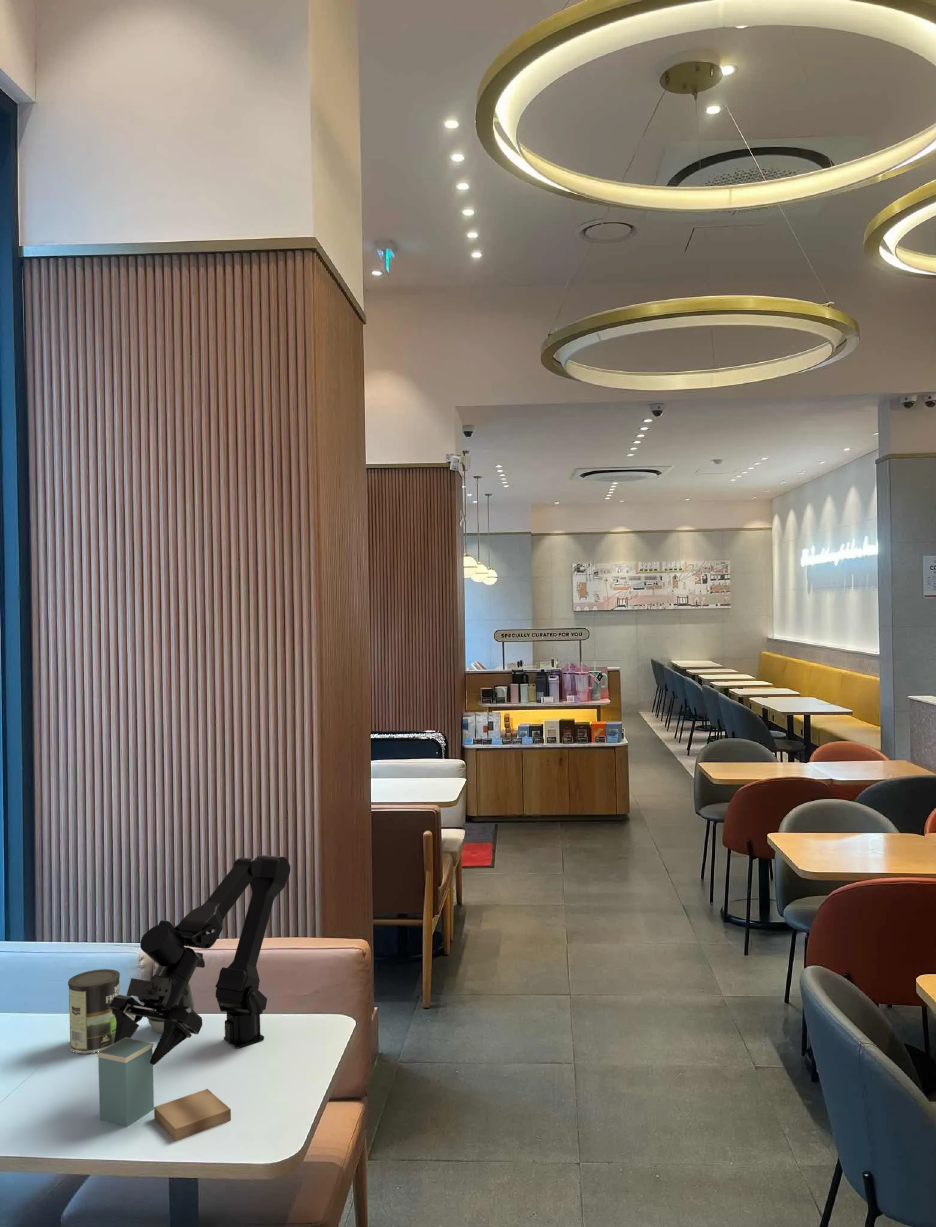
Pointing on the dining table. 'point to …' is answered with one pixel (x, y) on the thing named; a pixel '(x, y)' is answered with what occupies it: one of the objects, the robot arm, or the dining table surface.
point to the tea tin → (125, 1081)
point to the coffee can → (92, 1010)
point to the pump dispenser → (184, 1001)
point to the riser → (192, 1114)
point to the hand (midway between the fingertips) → (132, 1060)
